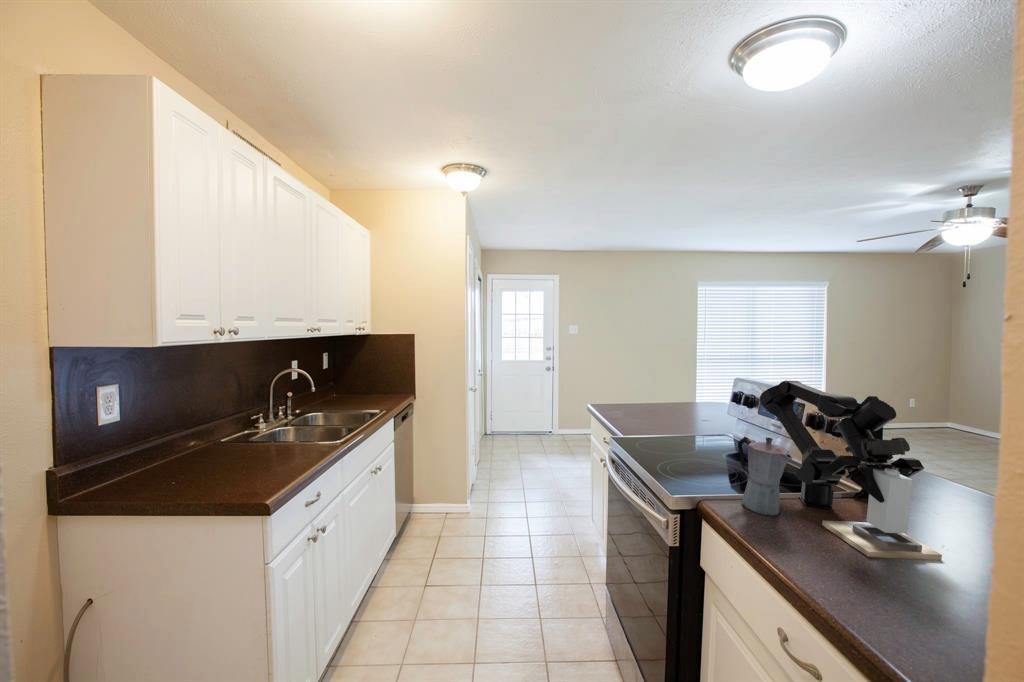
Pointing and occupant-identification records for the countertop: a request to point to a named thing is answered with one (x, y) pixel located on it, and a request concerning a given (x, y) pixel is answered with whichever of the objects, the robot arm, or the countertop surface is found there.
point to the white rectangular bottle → (890, 502)
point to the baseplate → (880, 541)
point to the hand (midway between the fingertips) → (894, 502)
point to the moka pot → (763, 475)
